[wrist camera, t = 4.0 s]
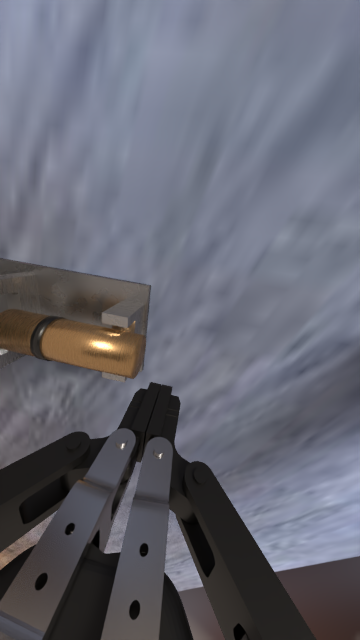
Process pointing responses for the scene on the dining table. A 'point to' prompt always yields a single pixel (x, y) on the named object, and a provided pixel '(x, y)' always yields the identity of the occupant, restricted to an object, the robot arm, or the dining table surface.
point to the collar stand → (73, 300)
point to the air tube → (72, 342)
